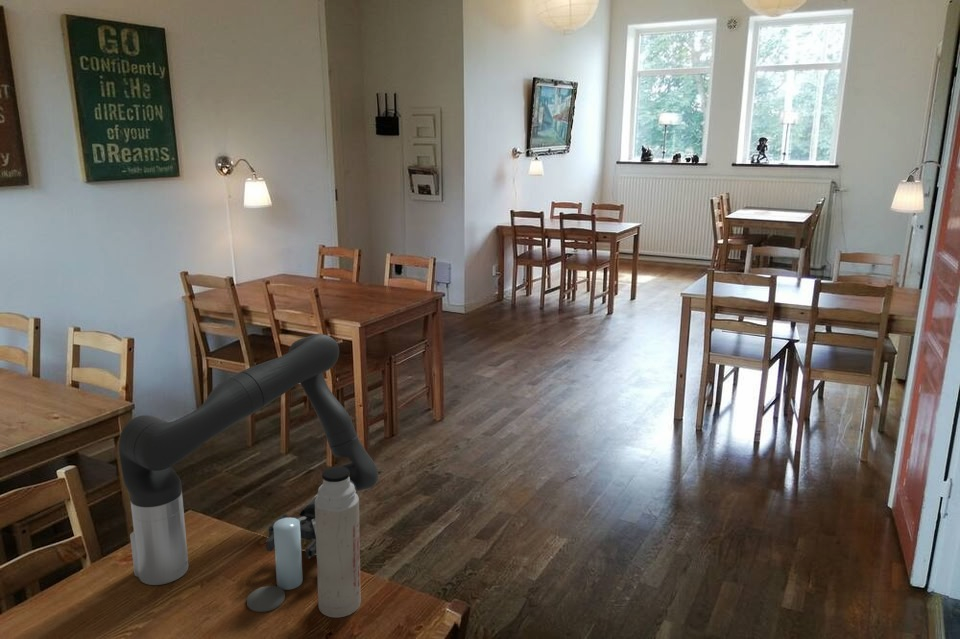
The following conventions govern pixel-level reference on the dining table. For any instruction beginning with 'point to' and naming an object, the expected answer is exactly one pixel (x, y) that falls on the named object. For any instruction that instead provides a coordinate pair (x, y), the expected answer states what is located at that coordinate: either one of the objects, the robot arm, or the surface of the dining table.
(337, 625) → the dining table surface
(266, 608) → the coaster
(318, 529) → the thermos bottle
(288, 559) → the tall pale blue cylinder
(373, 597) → the dining table surface
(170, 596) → the dining table surface
